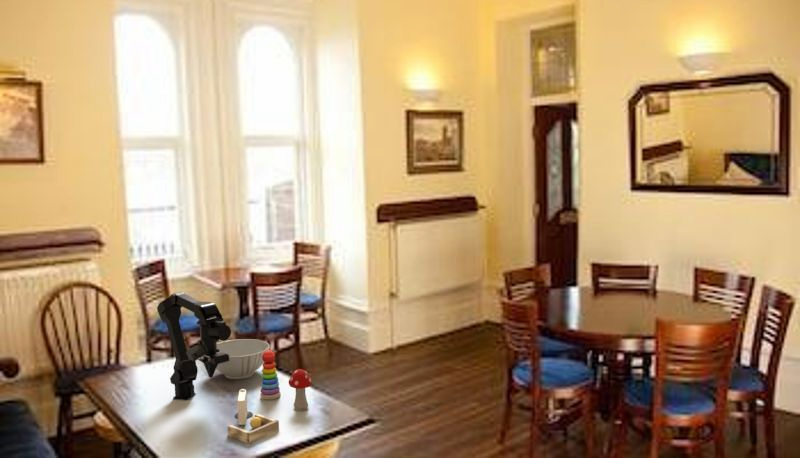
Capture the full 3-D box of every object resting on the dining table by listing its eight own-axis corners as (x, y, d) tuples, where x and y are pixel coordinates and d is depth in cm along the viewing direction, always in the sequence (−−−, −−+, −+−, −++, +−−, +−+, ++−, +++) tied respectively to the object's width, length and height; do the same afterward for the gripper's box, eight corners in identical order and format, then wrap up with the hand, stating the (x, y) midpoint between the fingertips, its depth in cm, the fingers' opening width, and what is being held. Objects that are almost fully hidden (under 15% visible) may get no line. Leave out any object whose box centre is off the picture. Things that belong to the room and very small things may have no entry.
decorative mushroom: (286, 405, 260) (285, 367, 258) (308, 401, 263) (307, 364, 261) (293, 414, 251) (291, 375, 249) (315, 410, 254) (314, 371, 252)
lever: (238, 425, 240) (237, 399, 239) (240, 413, 251) (239, 389, 250) (245, 424, 241) (244, 399, 240) (247, 413, 251) (246, 388, 250)
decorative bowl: (263, 384, 283) (262, 356, 281) (199, 385, 283) (198, 357, 282) (276, 364, 309) (275, 338, 308) (217, 365, 310) (216, 339, 308)
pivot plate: (231, 415, 250) (231, 415, 250) (245, 410, 255) (245, 409, 255) (241, 420, 246) (241, 419, 246) (256, 415, 251) (256, 414, 251)
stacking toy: (284, 394, 271) (282, 348, 269) (274, 401, 264) (272, 354, 262) (266, 392, 274) (265, 347, 272) (256, 399, 266) (254, 352, 264)
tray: (228, 435, 233) (227, 425, 232) (257, 422, 243) (257, 413, 243) (249, 443, 226) (249, 433, 226) (279, 430, 237) (278, 420, 236)
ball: (251, 430, 236) (246, 425, 239) (261, 431, 238) (256, 426, 241) (254, 419, 236) (250, 414, 239) (264, 420, 238) (260, 415, 241)
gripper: (176, 337, 256) (178, 377, 258) (202, 345, 244) (204, 387, 245) (202, 331, 264) (205, 370, 266) (229, 338, 252) (231, 379, 253)
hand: (210, 376), depth 257 cm, fingers closed
